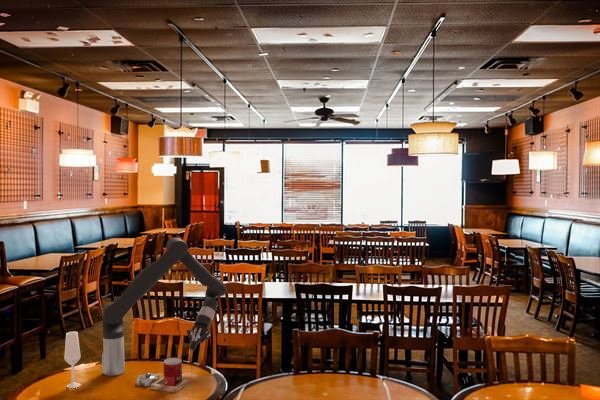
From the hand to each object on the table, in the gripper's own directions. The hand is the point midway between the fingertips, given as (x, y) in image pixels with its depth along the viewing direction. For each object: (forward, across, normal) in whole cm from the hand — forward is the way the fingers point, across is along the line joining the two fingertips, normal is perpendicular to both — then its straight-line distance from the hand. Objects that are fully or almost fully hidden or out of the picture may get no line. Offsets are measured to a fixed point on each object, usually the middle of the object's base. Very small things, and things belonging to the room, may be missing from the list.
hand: (191, 349), depth 255 cm
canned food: (+20, +1, -4) cm, 20 cm away
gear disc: (+20, -12, -5) cm, 24 cm away
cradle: (+21, 0, -6) cm, 22 cm away
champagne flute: (+31, -41, -14) cm, 53 cm away
